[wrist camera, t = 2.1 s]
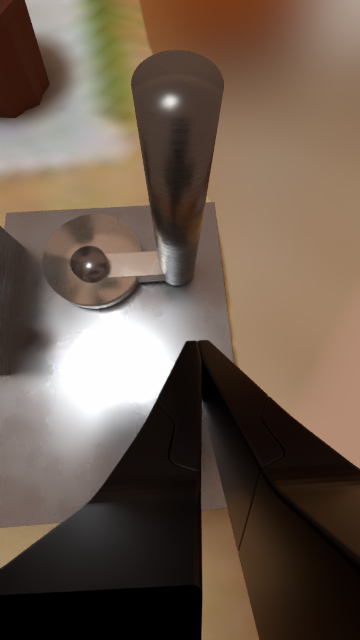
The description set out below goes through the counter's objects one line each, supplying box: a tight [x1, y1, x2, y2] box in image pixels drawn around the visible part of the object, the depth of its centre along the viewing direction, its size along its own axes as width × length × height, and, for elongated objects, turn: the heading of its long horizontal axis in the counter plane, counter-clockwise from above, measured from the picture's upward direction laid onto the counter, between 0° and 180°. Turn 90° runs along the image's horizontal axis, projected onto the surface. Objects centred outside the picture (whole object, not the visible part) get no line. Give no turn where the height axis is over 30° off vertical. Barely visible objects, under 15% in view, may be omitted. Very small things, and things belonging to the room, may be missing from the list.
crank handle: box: [42, 50, 224, 309], centre depth 13 cm, size 7×11×12 cm, turn 94°
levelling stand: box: [0, 202, 234, 528], centre depth 15 cm, size 22×17×8 cm
